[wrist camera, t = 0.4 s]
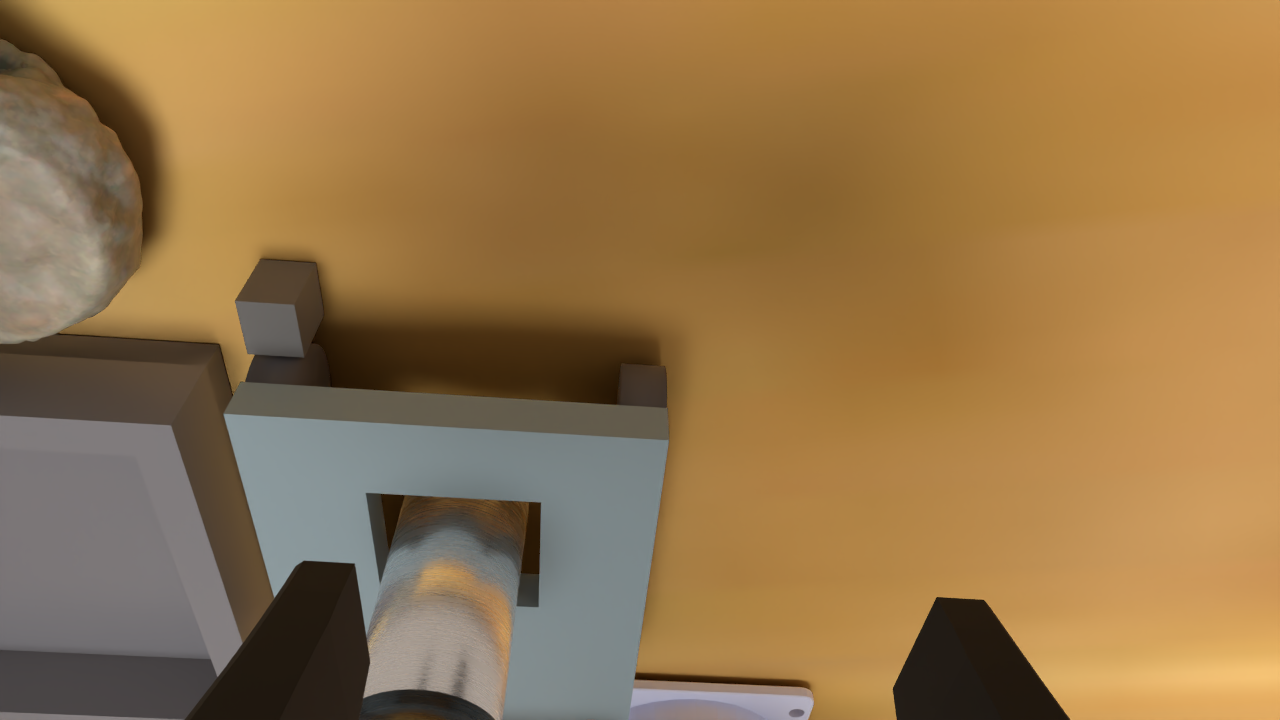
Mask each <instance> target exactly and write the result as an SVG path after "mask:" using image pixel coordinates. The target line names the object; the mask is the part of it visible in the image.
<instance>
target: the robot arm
mask: <svg viewBox="0 0 1280 720" xmlns="http://www.w3.org/2000/svg"><path fill="white" fill-rule="evenodd" d="M369 666H370V656H369V650H368V643H367V637H366V631H365V624H364V618H363V611H362V605H361V599H360V592H359V586H358V580H357V573H356V567H355V563H339V562H322V561H305V560H304V561H302V562H301V563H299V564H298V565H296V566H295V568H294V569H293V571H292V572H291V574H290V575H289V577H288V579H287V580H286V582H285V583H284V585H283V586H282V588H281V589H280V591H279V592H278V594H277V595H276V597H275V598H274V600H273V601H272V602H271V604H270V605H269V607H268V608H267V610H266V611H265V613H264V614H263V616H262V617H261V618H260V620H259V621H258V623H257V624H256V626H255V627H254V628H253V630H252V631H251V633H250V634H249V635H248V637H247V638H246V640H245V641H244V642H243V644H242V645H241V646H240V648H239V649H238V650H237V652H236V653H235V655H234V656H233V657H232V659H231V660H230V661H229V663H228V664H227V666H226V667H225V668H224V670H223V671H222V672H221V673H220V675H219V676H218V677H217V679H216V680H215V681H214V682H213V684H212V685H211V686H210V688H209V689H208V690H207V691H206V693H205V694H204V695H203V697H202V698H201V699H200V700H199V702H198V703H197V704H196V706H195V707H194V708H193V709H192V711H191V712H190V713H189V715H188V716H187V717H186V718H185V720H359V717H360V712H361V707H362V702H363V697H364V692H365V686H366V681H367V676H368V671H369ZM893 694H894V702H895V709H896V717H897V720H1070V719H1069V717H1068V716H1067V715H1066V713H1065V712H1064V711H1063V709H1062V708H1061V706H1060V705H1059V704H1058V702H1057V701H1056V700H1055V698H1054V697H1053V695H1052V694H1051V693H1050V691H1049V690H1048V688H1047V687H1046V686H1045V684H1044V683H1043V682H1042V680H1041V679H1040V677H1039V676H1038V675H1037V673H1036V672H1035V670H1034V669H1033V668H1032V666H1031V665H1030V663H1029V662H1028V661H1027V659H1026V658H1025V656H1024V655H1023V653H1022V652H1021V651H1020V649H1019V648H1018V646H1017V645H1016V644H1015V642H1014V641H1013V639H1012V638H1011V636H1010V635H1009V634H1008V632H1007V631H1006V629H1005V628H1004V627H1003V625H1002V624H1001V622H1000V621H999V620H998V618H997V617H996V615H995V614H994V613H993V611H992V610H991V608H990V607H989V606H988V604H987V603H986V602H985V601H984V600H975V599H958V598H941V597H937V598H936V600H935V602H934V604H933V606H932V608H931V610H930V612H929V614H928V616H927V618H926V621H925V623H924V625H923V627H922V629H921V631H920V633H919V635H918V637H917V639H916V641H915V643H914V645H913V648H912V650H911V652H910V654H909V656H908V658H907V660H906V662H905V664H904V666H903V668H902V670H901V673H900V675H899V677H898V679H897V681H896V683H895V685H894V687H893ZM813 706H814V699H813V693H812V692H811V691H810V690H809V689H807V688H803V687H788V686H765V685H743V684H721V683H698V682H676V681H653V680H634V685H633V692H632V699H631V706H630V713H629V720H808V719H809V716H810V713H811V711H812V708H813Z"/></svg>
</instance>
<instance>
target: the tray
mask: <svg viewBox="0 0 1280 720" xmlns="http://www.w3.org/2000/svg"><path fill="white" fill-rule="evenodd" d="M232 397H233V396H232V392H231V389H230V385H229V381H228V377H227V374H226V370H225V366H224V362H223V358H222V355H221V351H220V347H219V345H216V344H200V343H184V342H169V341H153V340H137V339H122V338H106V337H90V336H74V335H59V334H54V335H51V336H47V337H43V338H41V339H39V340H37V341H34V342H32V341H27V340H26V341H23V342H21V343H18V344H0V720H185V718H186V717H187V716H188V715H189V713H190V712H191V711H192V709H193V708H194V707H195V706H196V704H197V703H198V702H199V700H200V699H201V698H202V697H203V695H204V694H205V693H206V691H207V690H208V689H209V688H210V686H211V685H212V684H213V682H214V681H215V680H216V679H217V677H218V676H219V675H220V673H221V672H222V671H223V670H224V668H225V667H226V666H227V664H228V663H229V661H230V660H231V659H232V657H233V656H234V655H235V653H236V652H237V650H238V649H239V648H240V646H241V645H242V644H243V642H244V641H245V640H246V638H247V637H248V635H249V634H250V633H251V631H252V630H253V628H254V627H255V626H256V624H257V623H258V621H259V620H260V618H261V617H262V616H263V614H264V613H265V611H266V610H267V608H268V607H269V605H270V604H271V602H272V601H273V600H274V595H273V592H272V588H271V584H270V581H269V577H268V573H267V570H266V566H265V563H264V559H263V555H262V552H261V548H260V544H259V541H258V537H257V534H256V530H255V526H254V523H253V519H252V516H251V512H250V508H249V505H248V501H247V497H246V494H245V490H244V487H243V483H242V479H241V476H240V472H239V468H238V465H237V461H236V458H235V454H234V450H233V447H232V443H231V440H230V436H229V432H228V429H227V425H226V421H225V418H224V412H225V410H226V408H227V406H228V404H229V402H230V401H231V399H232Z"/></svg>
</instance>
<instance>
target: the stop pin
mask: <svg viewBox="0 0 1280 720" xmlns="http://www.w3.org/2000/svg"><path fill="white" fill-rule="evenodd" d="M528 510H529V502H524V501H505V500H487V499H469V498H451V497H433V496H415V495H405V496H404V500H403V503H402V507H401V511H400V514H399V518H398V522H397V525H396V529H395V533H394V537H393V540H392V544H391V548H390V551H389V555H388V559H387V562H386V566H385V570H384V573H383V577H382V581H381V584H380V588H379V592H378V595H377V599H376V603H375V606H374V610H373V614H372V618H371V621H370V625H369V629H368V632H367V636H366V637H367V643H368V650H369V656H370V666H369V671H368V676H367V681H366V686H365V692H364V697H363V702H362V707H361V712H360V717H359V720H502V719H503V711H504V703H505V695H506V687H507V679H508V671H509V663H510V655H511V647H512V639H513V631H514V623H515V615H516V606H517V598H518V590H519V582H520V574H521V566H522V558H523V550H524V542H525V534H526V526H527V518H528Z"/></svg>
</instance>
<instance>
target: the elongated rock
mask: <svg viewBox="0 0 1280 720" xmlns="http://www.w3.org/2000/svg"><path fill="white" fill-rule="evenodd" d="M142 210H143V201H142V196H141V190H140V182H139V178H138V175H137V172H136V171H135V169H134V167H133V165H132V163H131V161H130V159H129V157H128V156H127V154H126V153H125V151H124V150H123V148H122V145H121V143H120V141H119V139H118V136H117V134H116V132H114V131H113V130H112V129H110V128H109V127H107V126H105V125H103V124H102V123H100V121H99V119H98V116H97V114H96V112H95V111H94V109H93V108H92V106H91V105H90V104H89V102H88V101H87V100H85V99H84V98H81V97H79V96H77V95H76V94H75V93H73V92H72V91H70V90H69V89H67V88H65V87H64V86H63V84H62V82H61V80H60V78H59V76H58V75H57V73H56V72H55V71H54V70H53V69H52V68H51V67H50V66H49V65H48V64H47V63H46V62H45V61H44V60H43V59H42V58H41V57H39V56H38V55H36V54H34V53H27V52H22V51H20V50H19V49H18V48H16V47H15V46H14V45H13V44H11V43H9V42H8V41H7V40H2V39H0V344H18V343H21V342H23V341H26V340H27V341H32V342H34V341H37V340H39V339H41V338H43V337H47V336H51V335H54V334H56V333H58V332H60V331H62V330H63V329H65V328H67V327H69V326H71V325H74V324H76V323H79V322H81V321H83V320H85V319H87V318H90V317H93V316H95V315H96V314H98V313H99V312H101V311H102V310H104V309H105V308H106V307H107V306H108V305H109V304H110V302H111V301H112V299H113V298H114V297H115V296H116V295H117V294H118V293H119V291H120V290H121V289H122V287H123V286H124V285H125V284H126V282H127V281H128V279H129V278H130V277H131V276H132V275H133V274H134V272H135V271H136V270H137V269H138V268H139V267H140V264H141V246H142V237H143V232H142V215H141V213H142Z"/></svg>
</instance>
